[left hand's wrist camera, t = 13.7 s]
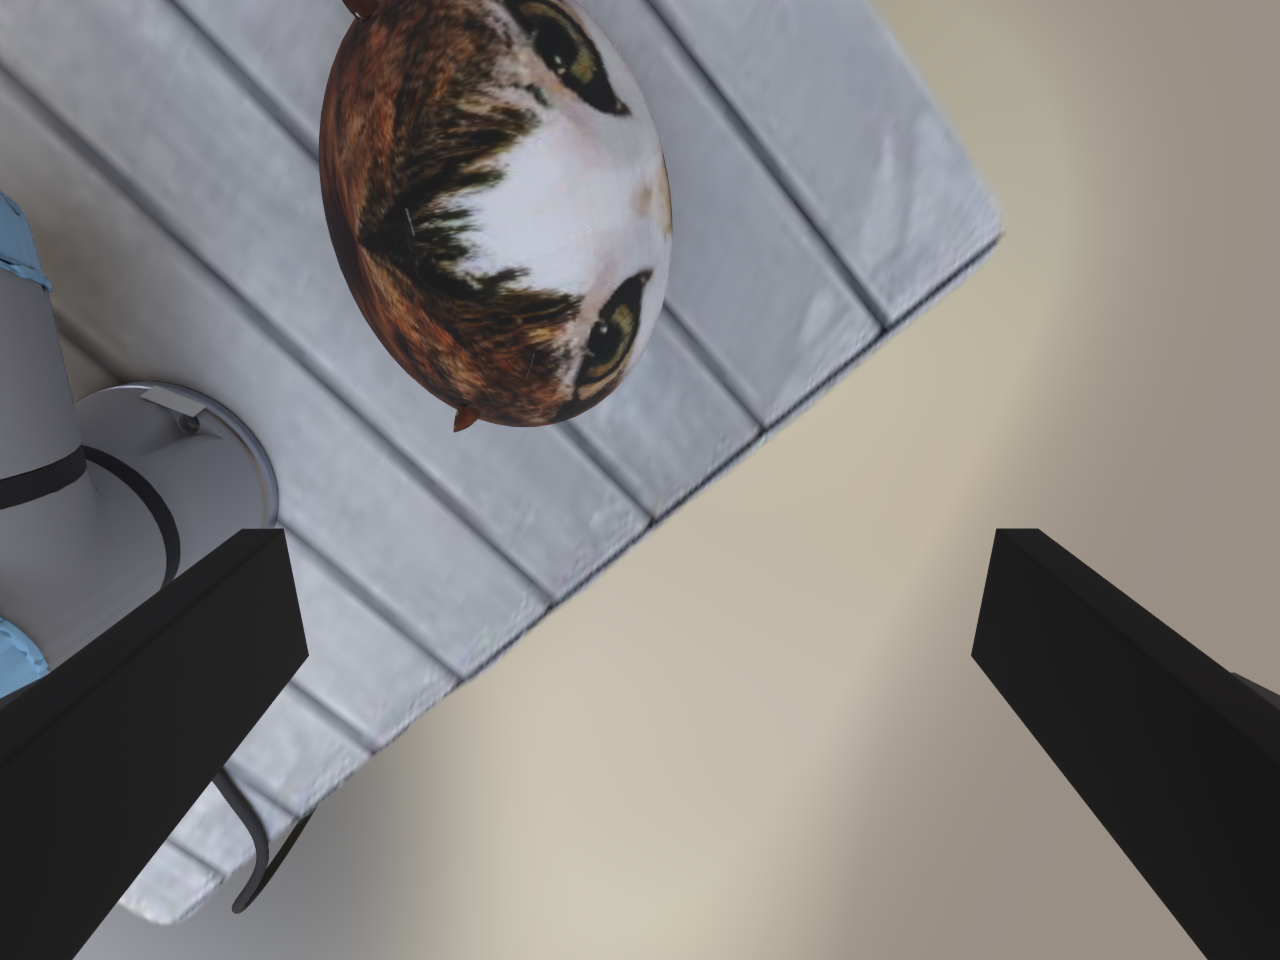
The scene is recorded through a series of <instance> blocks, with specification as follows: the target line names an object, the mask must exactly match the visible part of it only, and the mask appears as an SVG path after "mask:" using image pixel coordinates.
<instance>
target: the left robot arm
mask: <svg viewBox="0 0 1280 960" xmlns="http://www.w3.org/2000/svg"><path fill="white" fill-rule="evenodd" d="M48 292H52V285H51V282H50V280H49V279H48V278H47V277H46V276H45V275H43V272H42V269H41V265H40V261H39V258H38V254H37V251H36V247H35V244H34V240H33V237H32V233H31V230H30V226H29V223H28V221H27V219H26V217H25V215H24V213H23V211H22V210H21V209H20V207H19V206H18V205H17V204H16V203H15V202H14V201H13V200H12V199H11V198H9V197H8V196H7V195H5V194H4V193H3V192H1V191H0V960H73V958H74V957H75V956H76V954H77V953H78V952H79V951H80V949H81V948H82V947H83V945H84V944H85V943H86V942H87V940H88V939H89V938H90V936H91V935H92V934H93V933H94V931H95V930H96V929H97V927H98V926H99V925H100V924H101V922H102V921H103V920H104V918H105V917H106V916H107V915H108V913H109V912H110V911H111V909H112V908H113V907H114V906H115V904H116V903H117V902H118V900H119V899H120V898H121V897H122V895H123V894H124V893H125V891H126V890H127V889H128V888H129V886H130V885H131V884H132V882H133V881H134V880H135V879H136V877H137V876H138V875H139V873H140V872H141V871H142V870H143V868H144V867H145V866H146V864H147V863H148V862H149V861H150V859H151V858H152V857H153V855H154V854H155V853H156V852H157V850H158V849H159V848H160V846H161V845H162V844H163V843H164V841H165V840H166V839H167V837H168V836H169V835H170V834H171V832H172V831H173V830H174V828H175V827H176V826H177V825H178V823H179V822H180V821H181V819H182V818H183V817H184V816H185V814H186V813H187V812H188V810H189V809H190V808H191V807H192V805H193V804H194V803H195V801H196V800H197V799H198V798H199V796H200V795H201V794H202V792H203V791H204V790H205V789H206V787H207V786H208V785H209V783H210V782H211V781H212V782H213V783H214V784H215V785H216V787H217V788H218V789H219V791H220V792H221V794H222V795H223V796H224V798H225V799H226V801H227V802H228V803H229V805H230V806H231V807H232V809H233V810H234V811H235V813H236V814H237V815H238V816H239V818H240V819H241V820H242V822H243V823H244V825H245V826H246V828H247V829H248V831H249V833H250V834H251V836H252V838H253V841H254V844H255V848H256V854H257V859H256V865H255V869H254V871H253V874H252V876H251V878H250V879H249V881H248V883H247V884H246V886H245V887H244V889H243V890H242V892H241V893H240V894H239V896H238V897H237V899H236V900H235V902H234V904H233V905H232V911H233V912H234V913H235V914H238V913H241V912H242V911H244V910H245V909H246V908H247V907H248V906H249V905H250V904H251V903H252V902H253V901H254V900H255V899H256V897H257V896H258V895H259V894H260V893H261V891H262V890H263V889H264V887H265V886H266V885H267V884H268V882H269V881H270V879H271V878H272V877H273V875H274V874H275V872H276V871H277V869H278V868H279V866H280V865H281V863H282V862H283V861H284V859H285V857H286V856H287V855H288V853H289V851H290V850H291V848H292V847H293V845H294V844H295V842H296V841H297V839H298V837H299V836H300V834H301V833H302V831H303V829H304V828H305V826H306V824H307V823H308V821H309V820H310V818H311V816H312V815H313V813H314V811H315V810H316V808H317V806H316V807H315V808H314V809H312V810H311V811H310V812H308V813H307V814H306V815H305V816H304V817H303V818H301V819H300V820H299V821H298V822H297V824H296V826H295V827H294V829H293V830H292V832H291V833H290V835H289V836H288V838H287V839H286V841H285V842H284V844H283V845H282V847H281V848H280V850H279V851H278V853H277V854H276V856H275V857H274V859H273V860H272V862H271V863H270V864H269V866H268V867H267V865H268V860H269V849H268V843H267V839H266V836H265V834H264V831H263V829H262V827H261V825H260V824H259V822H258V820H257V819H256V817H255V815H254V814H253V813H252V811H251V810H250V808H249V807H248V806H247V804H246V803H245V802H244V800H243V799H242V798H241V796H240V795H239V794H238V792H237V791H236V790H235V788H234V787H233V785H232V784H231V782H230V781H229V780H228V778H227V777H226V775H225V774H224V773H223V772H222V771H221V768H222V767H223V765H224V764H225V763H226V762H227V760H228V759H229V758H230V756H231V755H232V754H233V753H234V751H235V750H236V749H237V747H238V746H239V745H240V744H241V742H242V741H243V740H244V738H245V737H246V736H247V735H248V733H249V732H250V731H251V729H252V728H253V727H254V726H255V724H256V723H257V722H258V720H259V719H260V718H261V717H262V715H263V714H264V713H265V711H266V710H267V709H268V708H269V706H270V705H271V704H272V702H273V701H274V700H275V699H276V697H277V696H278V695H279V693H280V692H281V691H282V690H283V688H284V687H285V686H286V684H287V683H288V682H289V681H290V679H291V678H292V677H293V675H294V674H295V673H296V672H297V670H298V669H299V668H300V666H301V665H302V664H303V663H304V661H305V660H306V659H307V657H308V656H309V653H308V648H307V643H306V638H305V633H304V628H303V623H302V618H301V613H300V608H299V603H298V598H297V593H296V588H295V583H294V578H293V573H292V568H291V563H290V558H289V553H288V548H287V543H286V538H285V533H284V529H273V527H274V525H275V521H276V517H277V511H278V491H277V485H276V479H275V476H274V473H273V469H272V467H271V464H270V462H269V460H268V458H267V456H266V454H265V452H264V450H263V448H262V447H261V445H260V444H259V442H258V441H257V439H256V438H255V437H254V435H253V434H252V433H251V432H250V430H249V429H248V428H247V427H246V426H245V425H244V424H243V423H242V422H241V421H240V420H239V419H238V418H237V417H236V416H235V415H233V414H232V413H231V412H230V411H228V410H227V409H226V408H224V407H223V406H221V405H220V404H219V403H217V402H215V401H214V400H212V399H210V398H208V397H207V396H205V395H202V394H200V393H198V392H196V391H193V390H191V389H188V388H185V387H182V386H178V385H175V384H170V383H164V382H155V381H139V382H130V383H125V384H121V385H117V386H114V387H111V388H107V389H104V390H101V391H97V392H94V393H92V394H90V395H87V396H85V397H83V398H82V399H80V400H79V401H77V402H76V403H74V404H73V399H72V395H71V391H70V386H69V382H68V378H67V373H66V369H65V364H64V360H63V356H62V351H61V347H60V343H59V338H58V334H57V329H56V325H55V321H54V316H53V312H52V307H51V303H50V299H49V294H48ZM971 656H972V657H973V659H974V660H975V661H976V663H977V664H978V665H979V666H980V668H981V669H982V670H983V672H984V673H985V674H986V675H987V677H988V678H989V679H990V681H991V682H992V683H993V684H994V686H995V687H996V688H997V690H998V691H999V692H1000V693H1001V695H1002V696H1003V697H1004V699H1005V700H1006V701H1007V702H1008V704H1009V705H1010V706H1011V708H1012V709H1013V710H1014V711H1015V713H1016V714H1017V715H1018V717H1019V718H1020V719H1021V720H1022V722H1023V723H1024V724H1025V726H1026V727H1027V728H1028V729H1029V731H1030V732H1031V733H1032V735H1033V736H1034V737H1035V738H1036V740H1037V741H1038V742H1039V744H1040V745H1041V746H1042V747H1043V749H1044V750H1045V751H1046V753H1047V754H1048V755H1049V756H1050V758H1051V759H1052V760H1053V762H1054V763H1055V764H1056V765H1057V767H1058V768H1059V769H1060V771H1061V772H1062V773H1063V774H1064V776H1065V777H1066V778H1067V780H1068V781H1069V782H1070V783H1071V785H1072V786H1073V787H1074V789H1075V790H1076V791H1077V792H1078V794H1079V795H1080V796H1081V798H1082V799H1083V800H1084V801H1085V803H1086V804H1087V805H1088V807H1089V808H1090V809H1091V810H1092V812H1093V813H1094V814H1095V816H1096V817H1097V818H1098V819H1099V821H1100V822H1101V823H1102V825H1103V826H1104V827H1105V828H1106V830H1107V831H1108V832H1109V834H1110V835H1111V836H1112V837H1113V839H1114V840H1115V841H1116V843H1117V844H1118V845H1119V846H1120V848H1121V849H1122V850H1123V852H1124V853H1125V854H1126V855H1127V857H1128V858H1129V859H1130V861H1131V862H1132V863H1133V864H1134V866H1135V867H1136V868H1137V870H1138V871H1139V872H1140V873H1141V875H1142V876H1143V877H1144V879H1145V880H1146V881H1147V882H1148V884H1149V885H1150V886H1151V888H1152V889H1153V890H1154V891H1155V893H1156V894H1157V895H1158V897H1159V898H1160V899H1161V900H1162V902H1163V903H1164V904H1165V906H1166V907H1167V908H1168V909H1169V911H1170V912H1171V913H1172V915H1173V916H1174V917H1175V918H1176V920H1177V921H1178V922H1179V924H1180V925H1181V926H1182V927H1183V929H1184V930H1185V931H1186V932H1187V934H1188V935H1189V936H1190V938H1191V939H1192V940H1193V941H1194V943H1195V944H1196V945H1197V947H1198V948H1199V949H1200V951H1201V952H1202V953H1203V954H1204V956H1205V957H1206V958H1207V960H1280V695H1278V694H1276V693H1274V692H1272V691H1270V690H1268V689H1266V688H1264V687H1262V686H1260V685H1258V684H1256V683H1254V682H1252V681H1250V680H1248V679H1246V678H1244V677H1242V676H1240V675H1238V674H1236V673H1230V672H1229V671H1227V670H1226V669H1225V668H1223V667H1222V666H1221V665H1219V664H1218V663H1216V662H1215V661H1214V660H1213V659H1211V658H1210V657H1209V656H1207V655H1206V654H1205V653H1203V652H1202V651H1201V650H1199V649H1198V648H1197V647H1195V646H1194V645H1193V644H1191V643H1190V642H1189V641H1187V640H1186V639H1185V638H1183V637H1182V636H1181V635H1179V634H1178V633H1177V632H1175V631H1174V630H1173V629H1171V628H1170V627H1169V626H1167V625H1166V624H1165V623H1163V622H1162V621H1161V620H1159V619H1158V618H1156V617H1155V616H1154V615H1152V614H1151V613H1150V612H1148V611H1147V610H1146V609H1145V608H1143V607H1142V606H1141V605H1139V604H1138V603H1137V602H1135V601H1134V600H1133V599H1131V598H1130V597H1129V596H1127V595H1126V594H1125V593H1123V592H1122V591H1121V590H1119V589H1118V588H1116V587H1115V586H1114V585H1113V584H1111V583H1110V582H1109V581H1107V580H1106V579H1105V578H1103V577H1102V576H1101V575H1099V574H1098V573H1097V572H1095V571H1094V570H1093V569H1091V568H1090V567H1089V566H1087V565H1086V564H1085V563H1083V562H1082V561H1081V560H1079V559H1078V558H1076V557H1075V556H1074V555H1073V554H1071V553H1070V552H1069V551H1067V550H1066V549H1064V548H1063V547H1062V546H1061V545H1059V544H1058V543H1057V542H1055V541H1054V540H1052V539H1051V538H1050V537H1049V536H1047V535H1046V534H1045V533H1043V532H1042V531H1041V530H1039V529H996V533H995V538H994V543H993V548H992V553H991V558H990V563H989V568H988V573H987V578H986V583H985V588H984V594H983V598H982V603H981V608H980V613H979V618H978V623H977V628H976V633H975V638H974V643H973V648H972V653H971ZM266 868H267V869H266Z"/></svg>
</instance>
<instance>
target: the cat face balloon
mask: <svg viewBox="0 0 1280 960" xmlns="http://www.w3.org/2000/svg"><path fill="white" fill-rule="evenodd" d="M342 1H343V2H344V4H345V5H346V7H347V8H348V9H349V11H350V12H351V13H352V14H353V15H354V16H355V17H356V18H355V19H354V21H353V23H352V24H351V26H350V28H349V30H348V31H347V33H346V35H345V37H344V38H343V40H342V43H341V45H340V47H339V49H338V52H337V54H336V57H335V60H334V62H333V65H332V68H331V72H330V75H329V79H328V82H327V86H326V91H325V96H324V101H323V106H322V111H321V122H320V134H319V169H320V182H321V191H322V199H323V204H324V210H325V216H326V221H327V225H328V229H329V233H330V237H331V241H332V244H333V247H334V250H335V253H336V256H337V259H338V262H339V266H340V268H341V271H342V273H343V275H344V277H345V280H346V282H347V284H348V287H349V289H350V291H351V293H352V295H353V297H354V299H355V301H356V303H357V305H358V307H359V309H360V311H361V312H362V314H363V316H364V318H365V320H366V321H367V323H368V324H369V326H370V327H371V329H372V330H373V332H374V333H375V335H376V336H377V338H378V339H379V340H380V342H381V343H382V344H383V346H384V347H385V348H386V350H387V351H388V352H389V354H390V355H391V356H392V357H393V358H394V359H395V360H396V361H397V363H398V364H399V365H400V366H401V367H402V368H403V369H404V370H405V371H406V372H407V373H408V374H409V375H410V376H411V377H412V378H413V379H415V380H416V381H417V382H418V383H419V384H420V385H422V386H423V387H424V388H425V389H426V390H427V391H429V392H430V393H431V394H433V395H434V396H436V397H437V398H438V399H440V400H442V401H443V402H445V403H446V404H448V405H450V406H451V407H453V408H455V409H457V413H456V416H455V421H454V432H458V431H461V430H463V429H466V428H468V427H469V426H471V425H472V424H473V423H474V422H475V421H476V420H477V419H480V420H484V421H487V422H490V423H494V424H499V425H505V426H512V427H537V426H544V425H550V424H556V423H559V422H561V421H564V420H567V419H570V418H573V417H576V416H578V415H580V414H581V413H583V412H585V411H587V410H589V409H590V408H592V407H594V406H595V405H597V404H598V403H599V402H601V401H602V400H603V399H604V398H606V397H607V396H608V395H609V394H610V393H612V392H613V391H614V390H615V389H616V388H617V386H618V385H619V384H620V383H621V382H622V381H623V380H624V379H625V378H626V377H627V375H628V374H629V373H630V371H631V370H632V369H633V367H634V366H635V364H636V363H637V361H638V360H639V358H640V357H641V355H642V353H643V351H644V349H645V348H646V346H647V344H648V342H649V340H650V337H651V335H652V333H653V330H654V328H655V325H656V323H657V321H658V318H659V315H660V311H661V308H662V305H663V301H664V296H665V292H666V288H667V283H668V277H669V271H670V264H671V253H672V208H671V197H670V189H669V182H668V175H667V170H666V165H665V160H664V155H663V151H662V148H661V144H660V140H659V137H658V133H657V130H656V127H655V124H654V121H653V119H652V116H651V113H650V111H649V108H648V106H647V104H646V101H645V99H644V97H643V94H642V92H641V90H640V88H639V86H638V84H637V82H636V80H635V78H634V76H633V74H632V72H631V70H630V69H629V67H628V65H627V64H626V62H625V60H624V59H623V57H622V55H621V54H620V53H619V51H618V50H617V48H616V47H615V45H614V44H613V43H612V41H611V40H610V38H609V37H608V36H607V34H606V33H605V32H604V30H603V29H602V28H601V27H600V26H599V25H598V23H597V22H596V21H595V20H594V19H593V18H592V17H591V16H590V15H589V14H588V13H587V12H586V11H585V9H584V8H583V7H582V6H580V5H579V4H578V3H577V2H576V1H575V0H342Z"/></svg>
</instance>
